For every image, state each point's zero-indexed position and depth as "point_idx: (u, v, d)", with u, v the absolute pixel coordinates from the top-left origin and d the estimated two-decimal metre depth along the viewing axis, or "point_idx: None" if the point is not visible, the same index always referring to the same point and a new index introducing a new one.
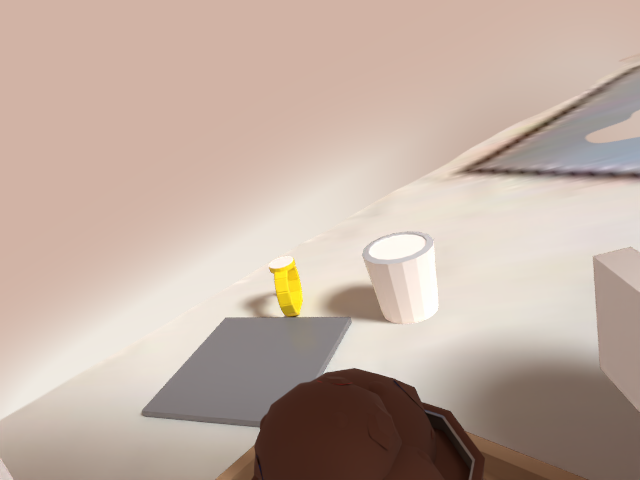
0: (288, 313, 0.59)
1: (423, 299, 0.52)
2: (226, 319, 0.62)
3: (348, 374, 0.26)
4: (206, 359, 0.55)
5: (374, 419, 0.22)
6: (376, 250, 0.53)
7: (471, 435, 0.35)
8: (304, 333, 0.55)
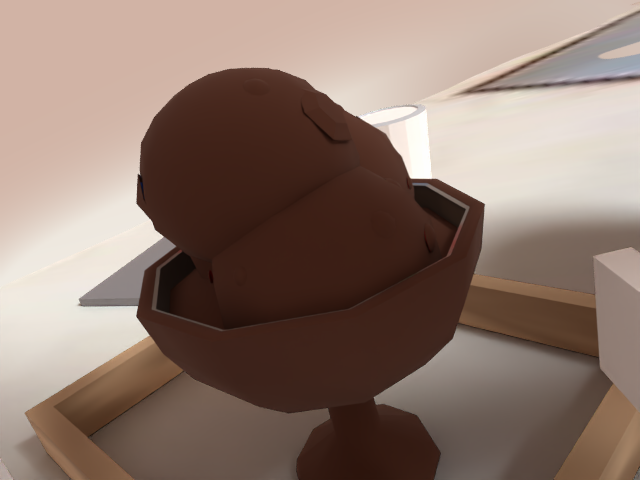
0: None
1: (413, 175, 0.44)
2: None
3: None
4: (161, 252, 0.47)
5: (313, 97, 0.14)
6: None
7: None
8: None
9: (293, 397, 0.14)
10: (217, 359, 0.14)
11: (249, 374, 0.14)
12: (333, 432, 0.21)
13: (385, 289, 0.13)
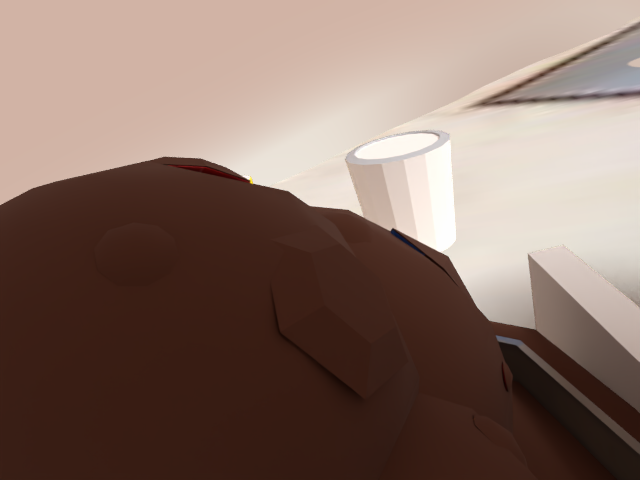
0: None
1: (434, 221, 0.35)
2: None
3: None
4: None
5: (306, 268, 0.05)
6: (365, 152, 0.36)
7: None
8: None
9: None
10: None
11: None
12: None
13: None
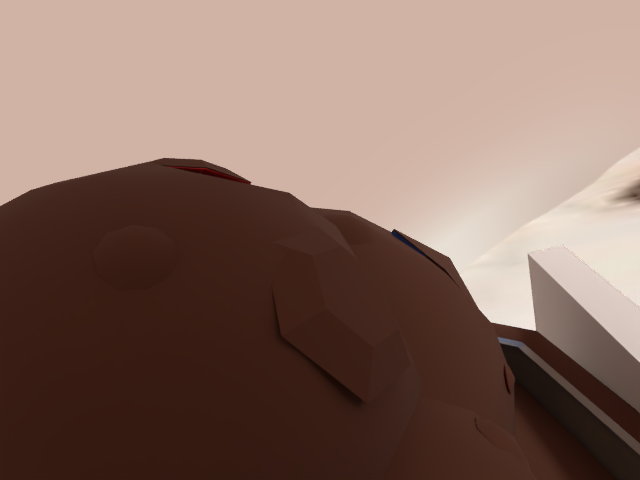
0: None
1: None
2: None
3: None
4: None
5: (308, 270, 0.05)
6: None
7: None
8: None
9: None
10: None
11: None
12: None
13: None
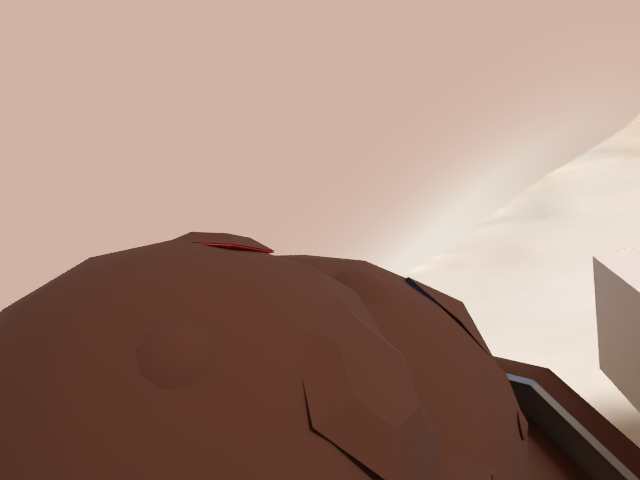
0: None
1: None
2: None
3: None
4: None
5: (334, 356, 0.05)
6: None
7: None
8: None
9: None
10: None
11: None
12: None
13: None
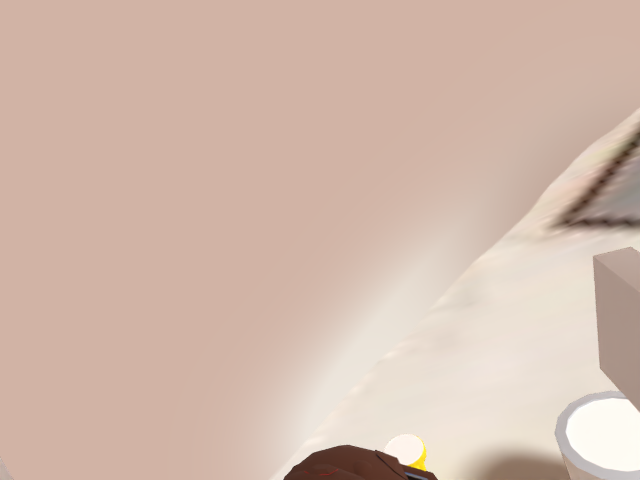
0: None
1: None
2: None
3: (333, 455, 0.28)
4: None
5: None
6: (582, 440, 0.32)
7: None
8: None
9: None
10: None
11: None
12: None
13: None
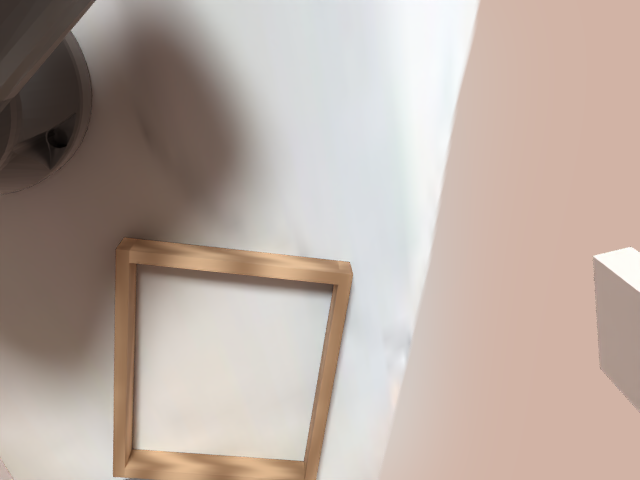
0: None
1: None
2: None
3: None
4: None
5: None
6: None
7: (115, 355, 0.45)
8: None
9: None
10: None
11: None
12: None
13: None
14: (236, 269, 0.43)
